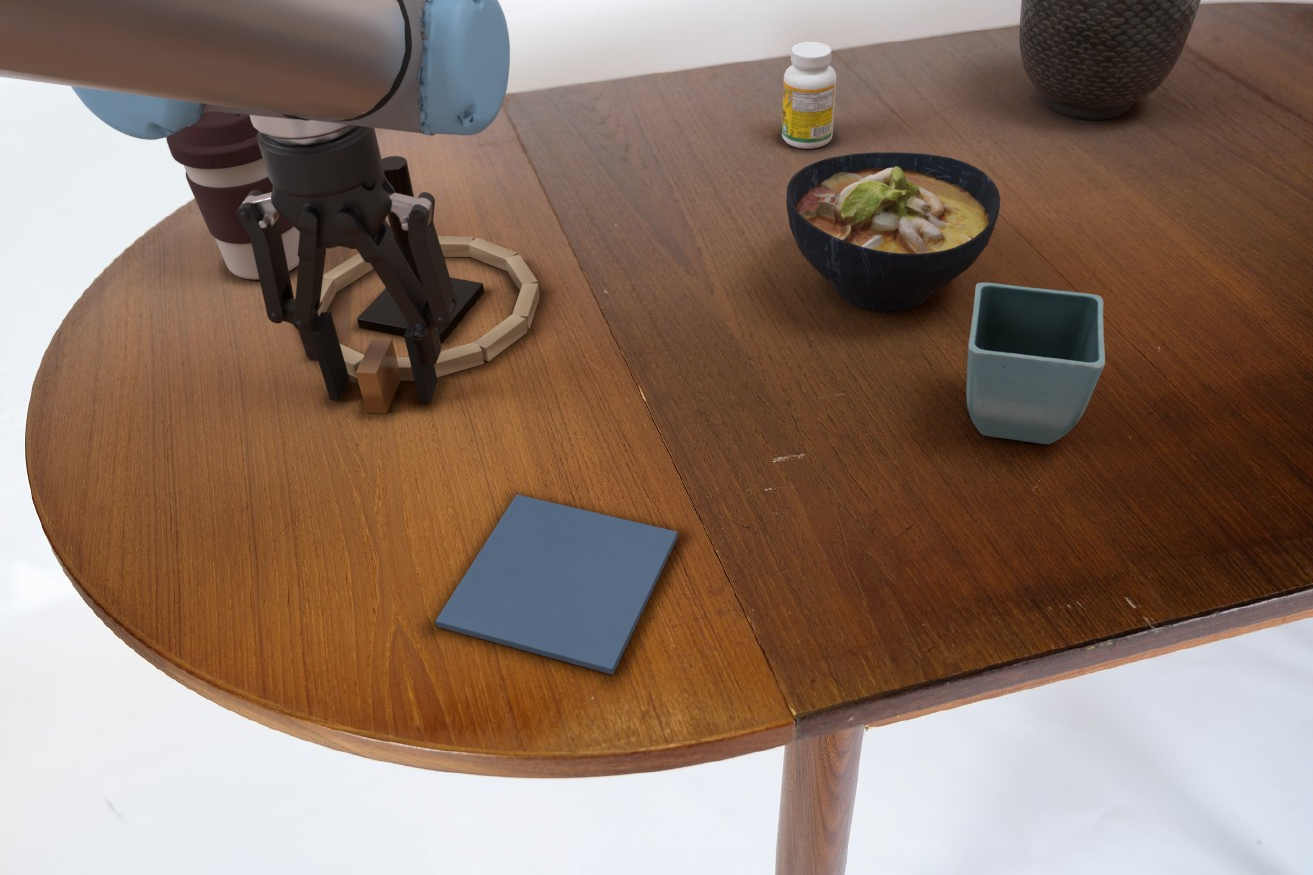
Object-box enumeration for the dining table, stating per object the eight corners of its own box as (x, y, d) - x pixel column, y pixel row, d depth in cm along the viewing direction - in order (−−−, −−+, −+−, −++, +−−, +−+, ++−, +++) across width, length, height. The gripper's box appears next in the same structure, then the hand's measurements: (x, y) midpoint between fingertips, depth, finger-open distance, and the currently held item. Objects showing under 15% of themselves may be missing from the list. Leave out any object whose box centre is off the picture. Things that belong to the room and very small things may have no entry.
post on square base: (442, 344, 94) (411, 194, 85) (358, 328, 96) (320, 180, 87) (484, 292, 100) (460, 146, 91) (405, 278, 102) (373, 134, 93)
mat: (613, 675, 68) (612, 669, 68) (436, 626, 71) (435, 620, 71) (678, 537, 76) (677, 531, 76) (517, 499, 80) (516, 493, 79)
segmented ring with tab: (501, 418, 87) (494, 376, 84) (254, 409, 89) (240, 368, 86) (554, 251, 104) (550, 213, 102) (347, 246, 106) (338, 209, 104)
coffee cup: (191, 268, 105) (135, 116, 95) (276, 222, 110) (232, 74, 101) (258, 302, 100) (207, 146, 90) (344, 252, 106) (304, 100, 96)
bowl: (1018, 324, 93) (1040, 218, 86) (817, 357, 91) (825, 250, 84) (937, 221, 106) (951, 121, 99) (759, 248, 103) (762, 147, 97)
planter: (1162, 74, 127) (1201, -75, 117) (1178, 144, 115) (1224, -16, 104) (1004, 66, 131) (1028, -80, 120) (1003, 133, 118) (1030, -23, 108)
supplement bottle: (825, 153, 117) (831, 62, 110) (775, 146, 118) (778, 57, 112) (837, 130, 120) (844, 41, 114) (788, 124, 122) (792, 36, 116)
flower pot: (959, 376, 88) (976, 279, 82) (1077, 392, 86) (1103, 293, 80) (950, 449, 82) (967, 349, 76) (1077, 468, 80) (1105, 367, 74)
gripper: (470, 94, 76) (514, 364, 91) (194, 93, 78) (282, 357, 93) (444, 148, 70) (495, 426, 86) (146, 145, 72) (248, 417, 88)
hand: (384, 390), depth 89 cm, fingers open, 6 cm apart
